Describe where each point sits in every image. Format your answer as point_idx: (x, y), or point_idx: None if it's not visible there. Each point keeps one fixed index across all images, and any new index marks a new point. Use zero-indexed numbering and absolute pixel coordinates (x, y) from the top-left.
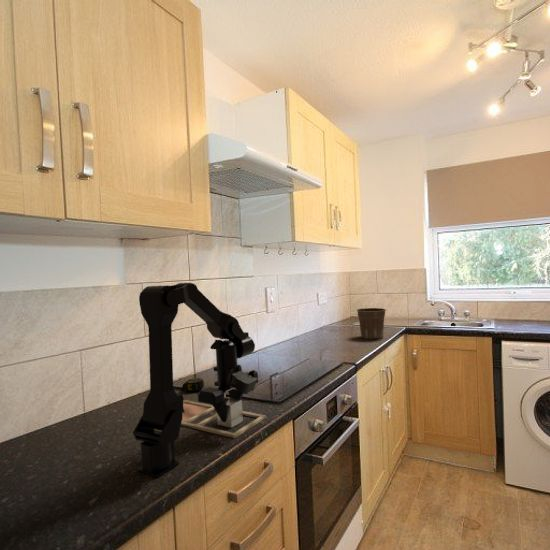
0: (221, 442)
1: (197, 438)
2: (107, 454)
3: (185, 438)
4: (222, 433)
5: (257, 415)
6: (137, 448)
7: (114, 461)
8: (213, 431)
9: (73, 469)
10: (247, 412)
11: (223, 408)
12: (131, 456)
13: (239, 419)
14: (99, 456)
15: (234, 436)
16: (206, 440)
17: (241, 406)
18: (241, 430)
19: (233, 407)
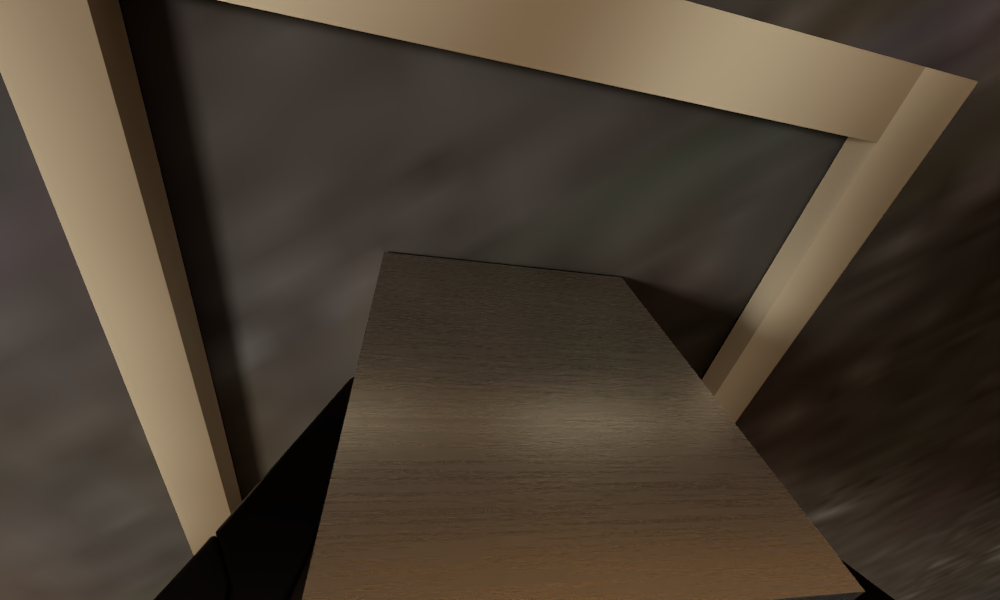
0: (994, 186)
1: (831, 413)
2: (907, 586)
3: (813, 469)
4: (829, 277)
5: (87, 73)
6: (884, 554)
7: (989, 543)
8: (760, 377)
9: (995, 583)
10: (118, 323)
11: (868, 587)
12: (967, 528)
13: (463, 285)
14: (916, 592)
15: (963, 81)
16: (891, 339)
17: (367, 428)
18: (811, 60)
19: (698, 500)
